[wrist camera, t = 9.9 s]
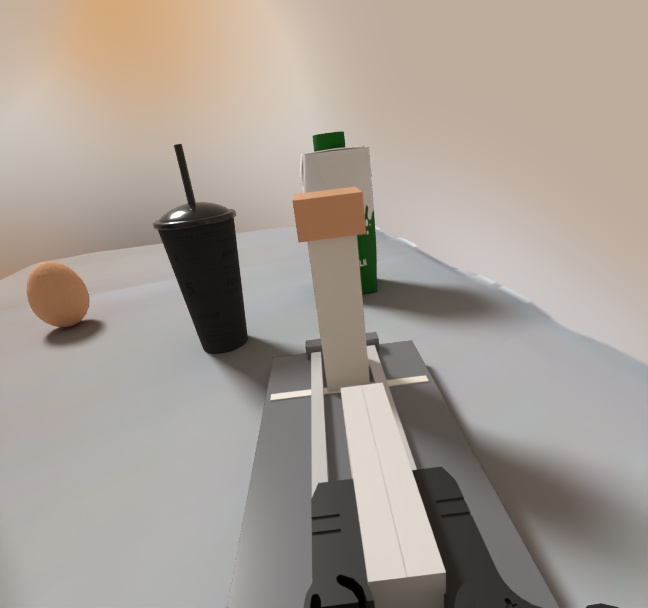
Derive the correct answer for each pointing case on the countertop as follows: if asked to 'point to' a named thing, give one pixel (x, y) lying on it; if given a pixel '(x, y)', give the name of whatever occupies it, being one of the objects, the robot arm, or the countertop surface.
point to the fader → (336, 279)
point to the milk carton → (342, 172)
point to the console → (333, 464)
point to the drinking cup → (206, 266)
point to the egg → (57, 294)
